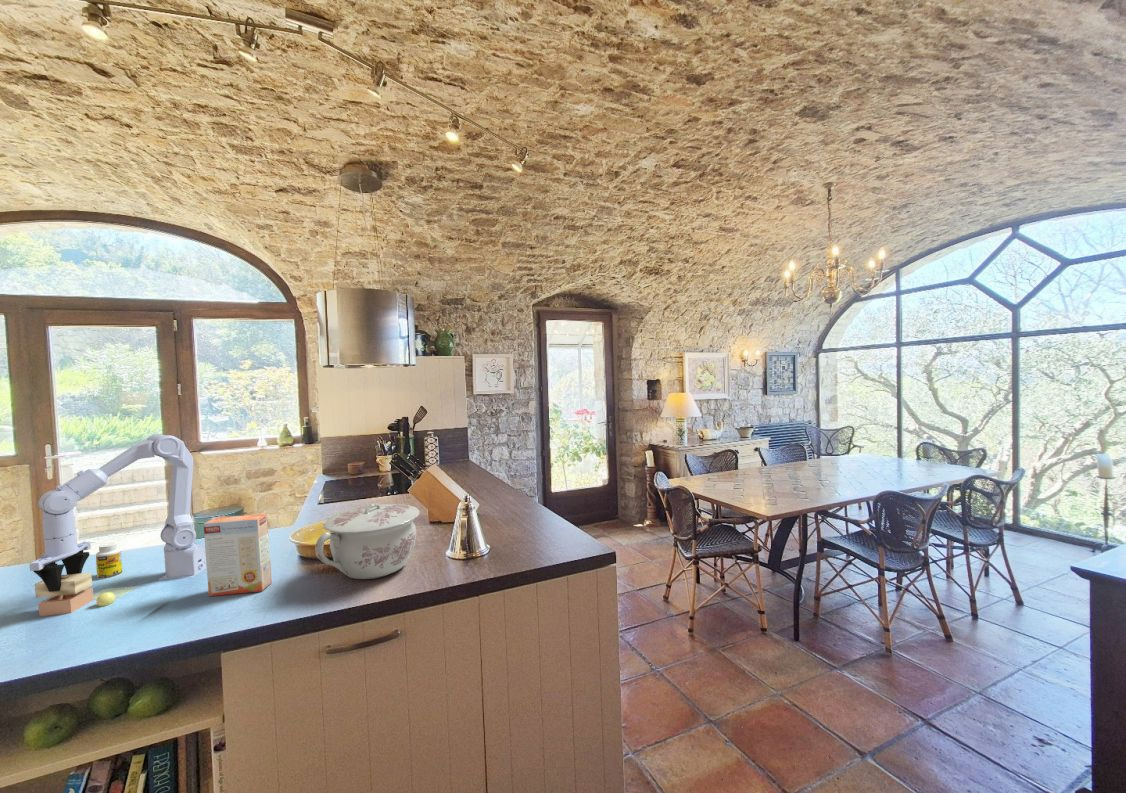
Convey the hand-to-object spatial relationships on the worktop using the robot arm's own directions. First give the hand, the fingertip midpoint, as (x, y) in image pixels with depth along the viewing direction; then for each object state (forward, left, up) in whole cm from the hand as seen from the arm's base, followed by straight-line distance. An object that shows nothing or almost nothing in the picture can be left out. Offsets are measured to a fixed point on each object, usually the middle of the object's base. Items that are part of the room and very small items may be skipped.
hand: (64, 586), depth 121 cm
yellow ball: (-9, 0, -7) cm, 11 cm away
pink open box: (0, 0, -7) cm, 7 cm away
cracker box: (-41, -3, -7) cm, 42 cm away
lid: (0, 0, -1) cm, 1 cm away
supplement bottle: (+6, -21, -7) cm, 23 cm away
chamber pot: (-76, -9, -7) cm, 77 cm away
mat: (-5, -7, -7) cm, 11 cm away
